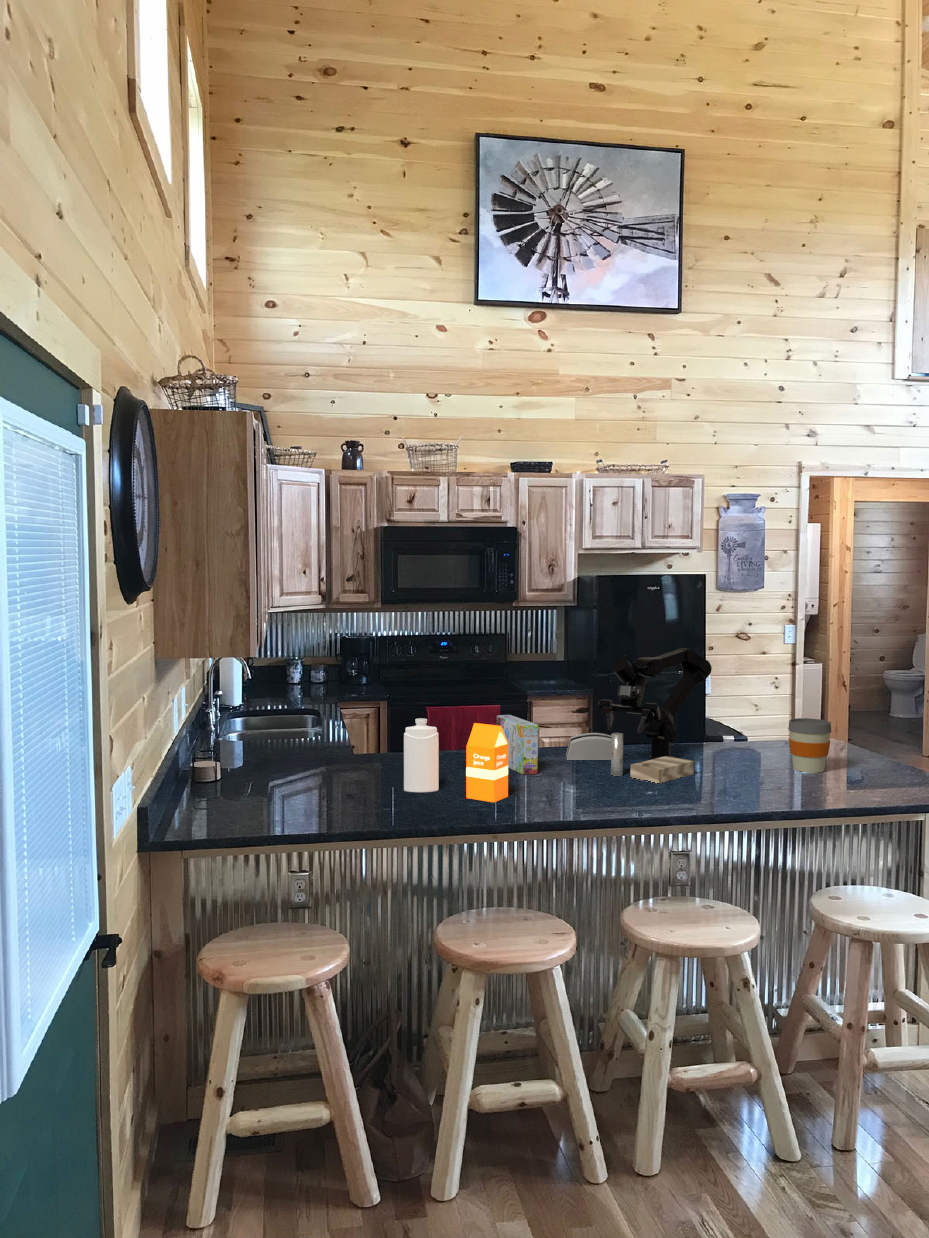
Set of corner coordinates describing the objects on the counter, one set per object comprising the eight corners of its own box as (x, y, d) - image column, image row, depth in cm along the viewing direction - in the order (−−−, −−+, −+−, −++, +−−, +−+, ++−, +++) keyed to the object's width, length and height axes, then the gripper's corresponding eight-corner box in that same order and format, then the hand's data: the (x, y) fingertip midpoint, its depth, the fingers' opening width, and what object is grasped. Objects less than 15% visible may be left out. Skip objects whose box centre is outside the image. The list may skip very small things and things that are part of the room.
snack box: (539, 774, 296) (539, 724, 295) (522, 775, 294) (522, 725, 293) (510, 760, 316) (510, 713, 315) (494, 761, 314) (494, 714, 313)
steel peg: (615, 773, 297) (616, 732, 296) (625, 775, 294) (625, 733, 294) (608, 775, 294) (609, 733, 294) (617, 777, 292) (618, 735, 291)
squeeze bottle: (403, 788, 277) (403, 792, 272) (403, 717, 276) (403, 721, 271) (438, 787, 278) (438, 792, 273) (438, 717, 276) (438, 720, 271)
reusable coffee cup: (817, 776, 294) (818, 726, 293) (779, 769, 303) (780, 721, 302) (838, 770, 302) (839, 721, 301) (800, 763, 311) (801, 716, 310)
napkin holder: (615, 757, 321) (618, 730, 317) (618, 764, 316) (620, 737, 312) (564, 757, 320) (566, 730, 316) (566, 765, 315) (568, 738, 311)
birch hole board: (665, 768, 303) (665, 755, 303) (693, 774, 296) (693, 760, 296) (630, 777, 291) (630, 764, 291) (658, 783, 284) (658, 770, 283)
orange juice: (493, 802, 262) (494, 728, 261) (465, 798, 267) (466, 724, 265) (508, 796, 269) (508, 723, 267) (480, 792, 273) (480, 720, 272)
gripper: (599, 673, 307) (587, 713, 298) (658, 677, 299) (648, 718, 289) (607, 695, 314) (595, 735, 305) (665, 699, 306) (654, 740, 297)
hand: (623, 732), depth 299 cm, fingers open, 9 cm apart
